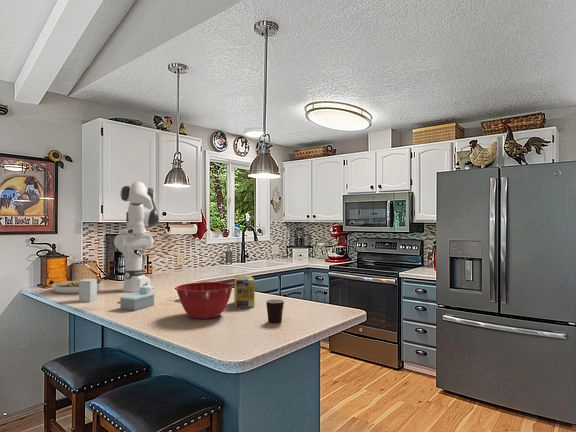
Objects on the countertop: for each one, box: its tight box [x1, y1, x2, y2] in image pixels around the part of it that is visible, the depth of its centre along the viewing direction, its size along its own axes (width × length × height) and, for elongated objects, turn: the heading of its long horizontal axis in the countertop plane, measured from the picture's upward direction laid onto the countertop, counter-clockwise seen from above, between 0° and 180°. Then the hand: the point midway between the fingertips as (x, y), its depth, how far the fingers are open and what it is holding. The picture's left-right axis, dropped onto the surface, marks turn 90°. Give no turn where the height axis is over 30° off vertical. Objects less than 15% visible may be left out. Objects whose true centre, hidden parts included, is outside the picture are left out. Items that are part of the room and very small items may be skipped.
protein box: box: [233, 275, 256, 309], centre depth 227 cm, size 10×15×16 cm
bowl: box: [51, 278, 103, 295], centre depth 269 cm, size 30×30×8 cm
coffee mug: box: [266, 298, 285, 325], centre depth 191 cm, size 12×9×10 cm
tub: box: [119, 295, 155, 312], centre depth 219 cm, size 15×10×6 cm, turn 158°
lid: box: [119, 287, 156, 300], centre depth 219 cm, size 16×11×4 cm
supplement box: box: [78, 278, 98, 303], centre depth 235 cm, size 7×7×13 cm
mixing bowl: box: [176, 281, 234, 320], centre depth 201 cm, size 28×28×16 cm
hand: (135, 254), depth 226 cm, fingers open, 8 cm apart
